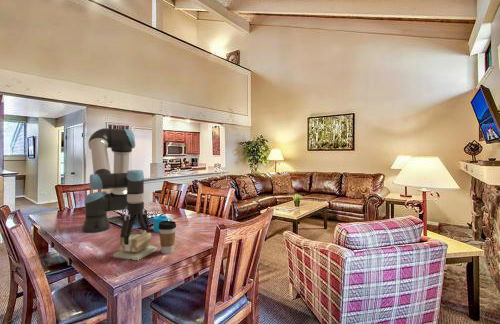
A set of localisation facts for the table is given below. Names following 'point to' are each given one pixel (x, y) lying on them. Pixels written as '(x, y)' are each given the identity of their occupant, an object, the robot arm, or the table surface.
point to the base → (135, 255)
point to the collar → (137, 241)
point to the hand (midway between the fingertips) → (135, 246)
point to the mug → (156, 222)
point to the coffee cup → (167, 236)
